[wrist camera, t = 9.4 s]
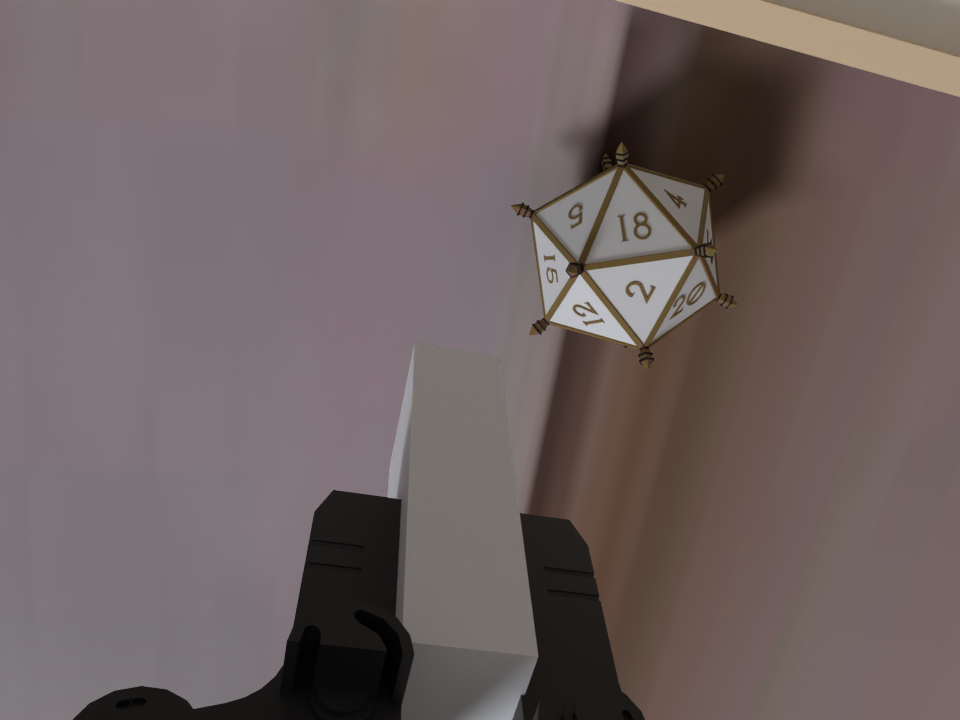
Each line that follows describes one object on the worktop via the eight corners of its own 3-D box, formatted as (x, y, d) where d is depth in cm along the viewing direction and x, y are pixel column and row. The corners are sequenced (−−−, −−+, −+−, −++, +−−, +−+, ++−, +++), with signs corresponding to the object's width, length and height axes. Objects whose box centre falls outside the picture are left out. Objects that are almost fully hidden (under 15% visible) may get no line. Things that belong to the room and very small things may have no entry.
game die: (619, 155, 40) (794, 116, 31) (641, 334, 41) (813, 344, 33) (453, 175, 36) (601, 136, 27) (482, 373, 37) (632, 396, 28)
